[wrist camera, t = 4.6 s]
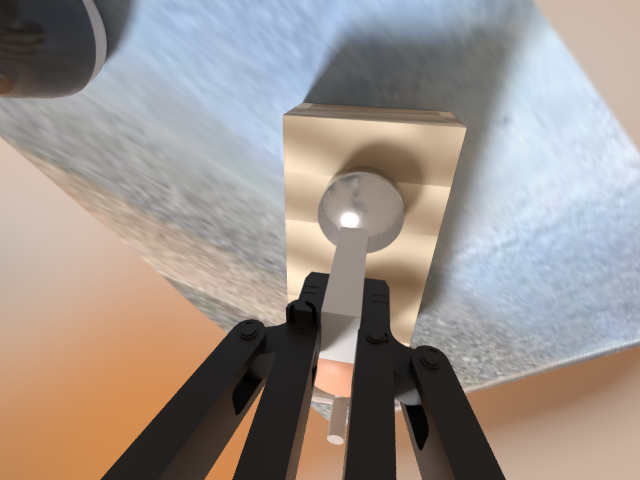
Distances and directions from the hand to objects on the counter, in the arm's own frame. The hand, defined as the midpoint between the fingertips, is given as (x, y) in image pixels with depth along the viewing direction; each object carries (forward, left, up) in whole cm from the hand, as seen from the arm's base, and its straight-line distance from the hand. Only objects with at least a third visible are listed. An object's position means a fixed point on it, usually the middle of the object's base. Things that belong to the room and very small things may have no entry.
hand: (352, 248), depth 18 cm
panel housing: (+6, 0, -13) cm, 14 cm away
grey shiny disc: (0, 0, -12) cm, 12 cm away
